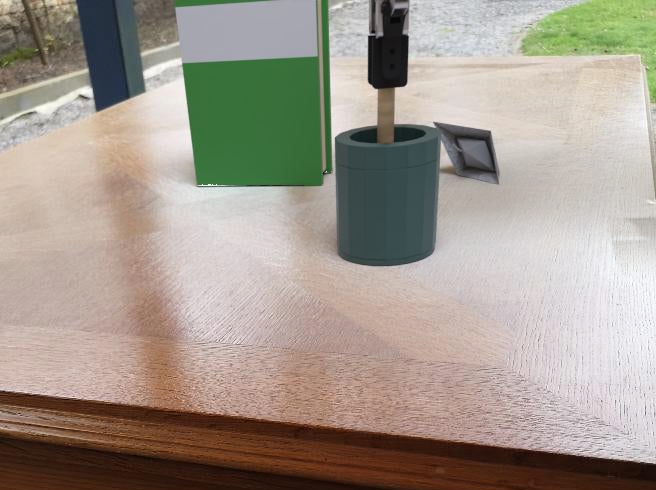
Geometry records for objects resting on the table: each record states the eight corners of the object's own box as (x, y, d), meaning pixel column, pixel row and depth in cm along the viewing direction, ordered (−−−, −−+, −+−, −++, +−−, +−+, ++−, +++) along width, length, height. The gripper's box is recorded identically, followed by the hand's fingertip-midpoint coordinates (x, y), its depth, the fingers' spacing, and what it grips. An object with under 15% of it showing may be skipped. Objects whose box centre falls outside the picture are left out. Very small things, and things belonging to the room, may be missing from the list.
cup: (423, 230, 86) (427, 120, 79) (444, 260, 77) (451, 140, 71) (332, 238, 85) (329, 129, 79) (344, 269, 77) (342, 150, 71)
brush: (400, 194, 80) (405, 11, 71) (408, 205, 77) (414, 14, 68) (361, 198, 80) (361, 14, 71) (367, 208, 77) (368, 18, 68)
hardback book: (332, 171, 110) (327, -37, 95) (321, 185, 104) (314, -34, 90) (213, 173, 114) (191, -26, 100) (197, 186, 108) (171, -23, 94)
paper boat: (531, 162, 101) (511, 158, 94) (497, 204, 105) (475, 203, 98) (465, 103, 103) (440, 95, 96) (433, 147, 107) (408, 142, 100)
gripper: (464, -195, 55) (447, 95, 66) (418, -170, 68) (410, 71, 79) (358, -186, 55) (359, 103, 66) (332, -163, 68) (336, 77, 79)
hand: (387, 84), depth 72 cm, fingers closed on brush
